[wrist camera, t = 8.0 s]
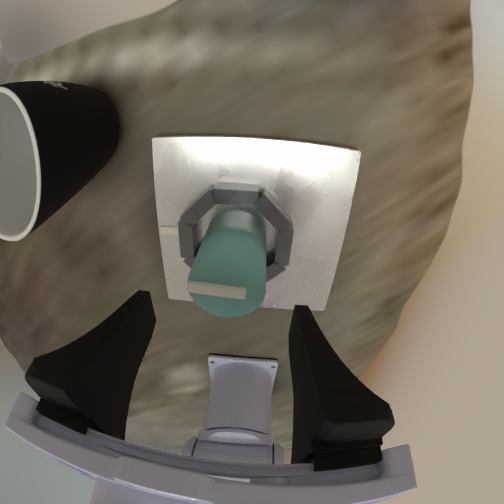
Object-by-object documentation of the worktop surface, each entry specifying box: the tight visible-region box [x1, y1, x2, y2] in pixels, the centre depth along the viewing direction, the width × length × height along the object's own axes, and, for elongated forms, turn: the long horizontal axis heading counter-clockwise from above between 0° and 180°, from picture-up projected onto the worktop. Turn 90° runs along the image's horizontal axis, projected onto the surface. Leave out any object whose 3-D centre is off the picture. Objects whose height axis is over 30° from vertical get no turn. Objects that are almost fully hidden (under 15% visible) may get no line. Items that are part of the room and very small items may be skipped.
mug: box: [0, 81, 118, 241], centre depth 13 cm, size 12×9×10 cm
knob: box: [187, 210, 266, 318], centre depth 18 cm, size 4×4×6 cm
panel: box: [152, 135, 361, 311], centre depth 20 cm, size 14×14×3 cm
